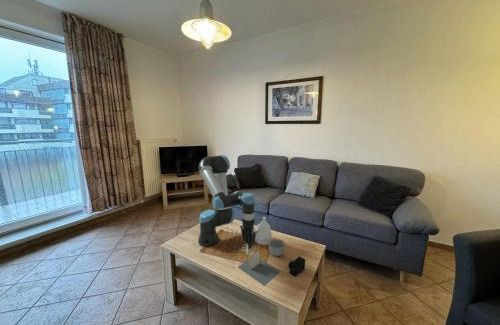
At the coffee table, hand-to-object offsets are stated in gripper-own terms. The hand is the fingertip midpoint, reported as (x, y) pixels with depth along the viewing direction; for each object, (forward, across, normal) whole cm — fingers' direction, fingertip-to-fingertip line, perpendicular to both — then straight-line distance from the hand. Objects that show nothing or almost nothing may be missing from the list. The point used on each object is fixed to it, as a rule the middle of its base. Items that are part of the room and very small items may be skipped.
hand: (248, 252), depth 133 cm
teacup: (+8, +6, +22) cm, 24 cm away
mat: (+8, +9, 0) cm, 12 cm away
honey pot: (+8, -10, +27) cm, 30 cm away
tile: (+7, +5, 0) cm, 9 cm away
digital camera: (+8, +26, +15) cm, 31 cm away
